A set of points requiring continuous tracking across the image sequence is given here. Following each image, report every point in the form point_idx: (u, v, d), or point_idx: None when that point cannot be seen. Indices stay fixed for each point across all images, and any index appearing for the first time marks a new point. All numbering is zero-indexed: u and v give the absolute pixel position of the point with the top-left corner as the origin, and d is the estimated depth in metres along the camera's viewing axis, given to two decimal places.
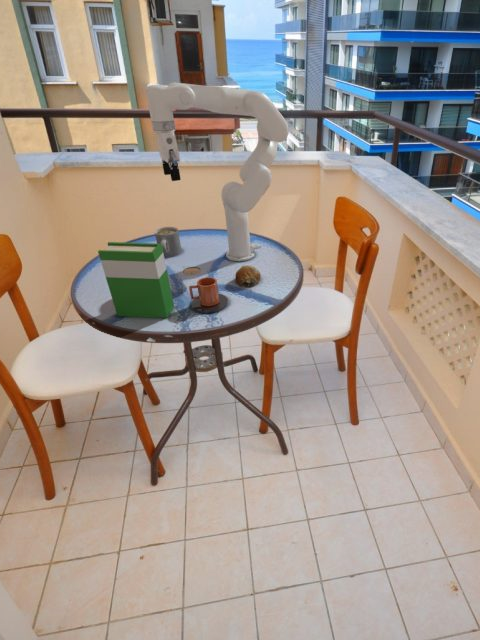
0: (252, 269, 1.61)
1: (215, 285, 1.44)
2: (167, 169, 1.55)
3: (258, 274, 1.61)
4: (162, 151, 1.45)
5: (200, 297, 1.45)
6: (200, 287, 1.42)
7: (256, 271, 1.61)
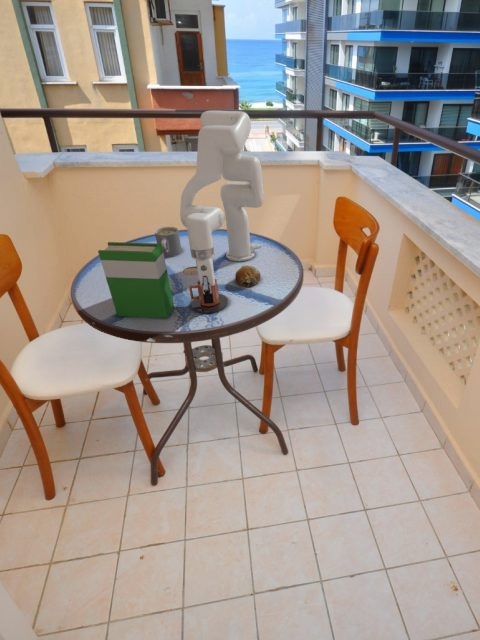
0: (252, 269, 1.61)
1: (215, 285, 1.44)
2: None
3: (258, 274, 1.61)
4: None
5: (200, 297, 1.45)
6: (200, 287, 1.42)
7: (256, 271, 1.61)
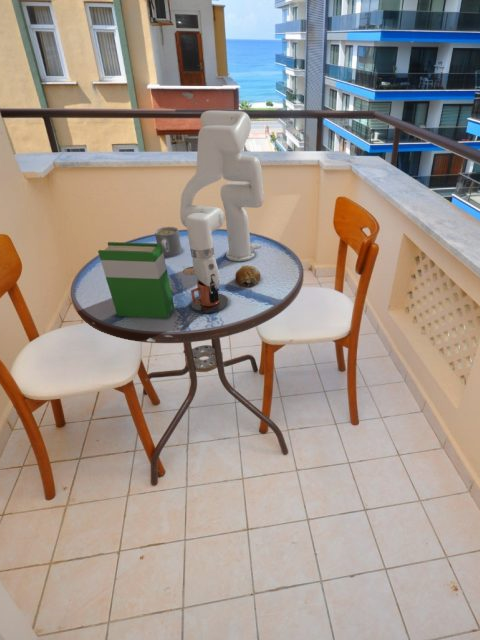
0: (252, 269, 1.61)
1: None
2: None
3: (258, 274, 1.61)
4: (202, 275, 1.40)
5: (204, 298, 1.45)
6: (205, 288, 1.42)
7: (256, 271, 1.61)
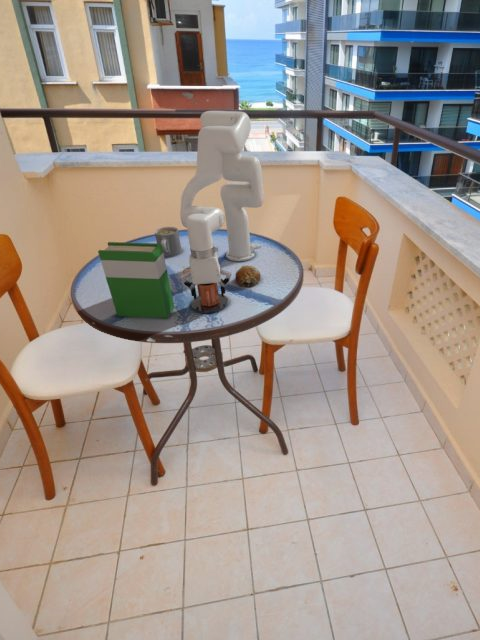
0: (252, 269, 1.61)
1: None
2: (195, 293, 1.46)
3: (258, 274, 1.61)
4: (211, 274, 1.41)
5: (214, 297, 1.45)
6: (214, 285, 1.44)
7: (256, 271, 1.61)
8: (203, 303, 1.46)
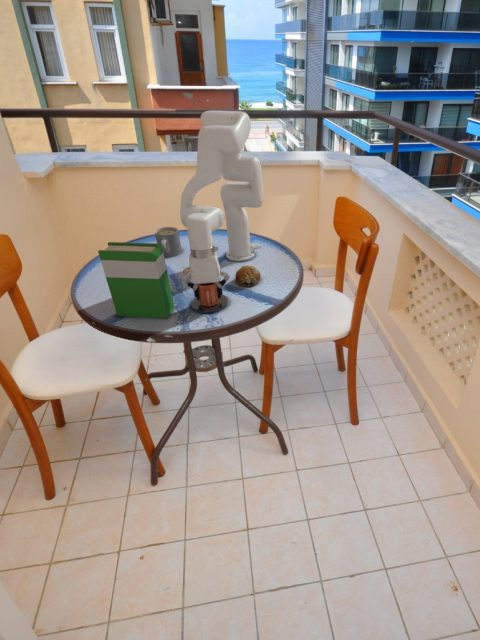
0: (252, 269, 1.61)
1: None
2: (198, 294, 1.46)
3: (258, 274, 1.61)
4: (211, 274, 1.41)
5: (213, 297, 1.45)
6: (214, 285, 1.43)
7: (256, 271, 1.61)
8: (203, 303, 1.46)
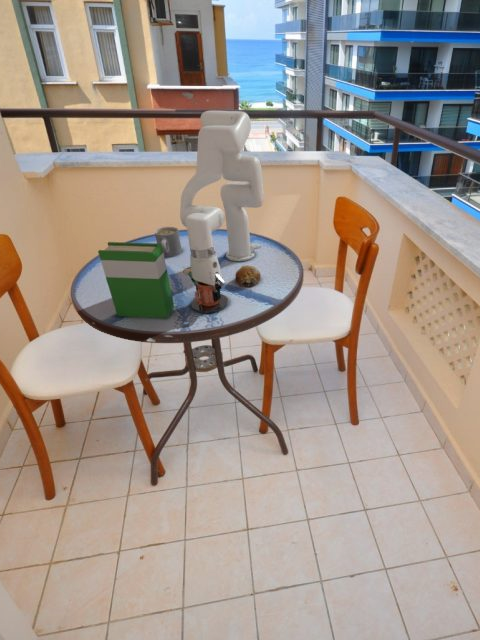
0: (252, 269, 1.61)
1: None
2: None
3: (258, 274, 1.61)
4: (205, 275, 1.40)
5: (207, 299, 1.45)
6: (208, 287, 1.42)
7: (256, 271, 1.61)
8: (199, 301, 1.47)
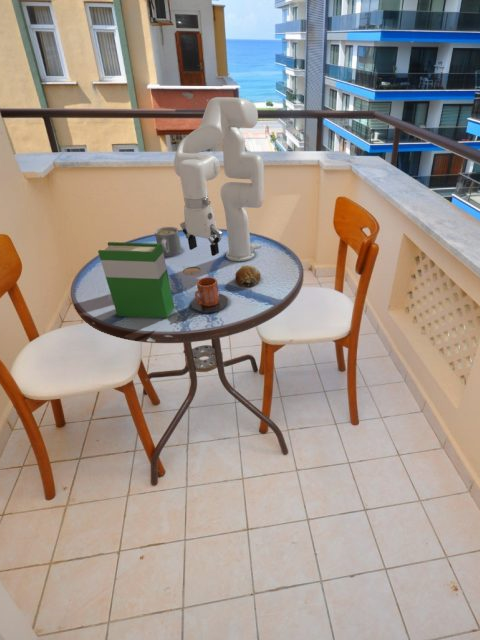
0: (252, 269, 1.61)
1: None
2: (192, 243, 1.42)
3: (258, 274, 1.61)
4: (199, 228, 1.33)
5: (207, 299, 1.45)
6: (208, 287, 1.42)
7: (256, 271, 1.61)
8: (199, 301, 1.47)
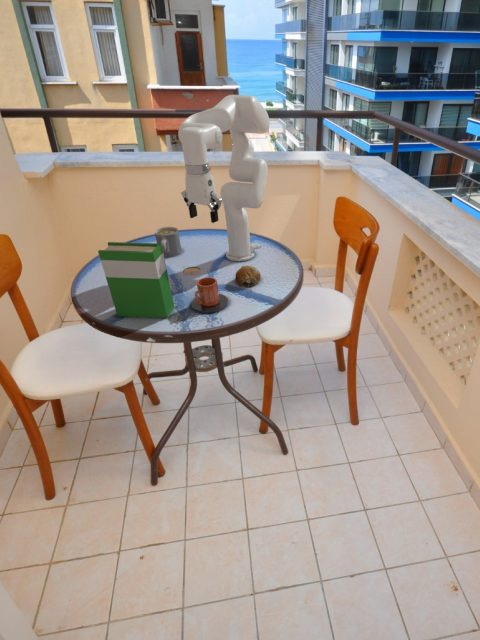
0: (252, 269, 1.61)
1: None
2: (193, 212, 1.47)
3: (258, 274, 1.61)
4: (200, 194, 1.38)
5: (207, 299, 1.45)
6: (208, 287, 1.42)
7: (256, 271, 1.61)
8: (199, 301, 1.47)
